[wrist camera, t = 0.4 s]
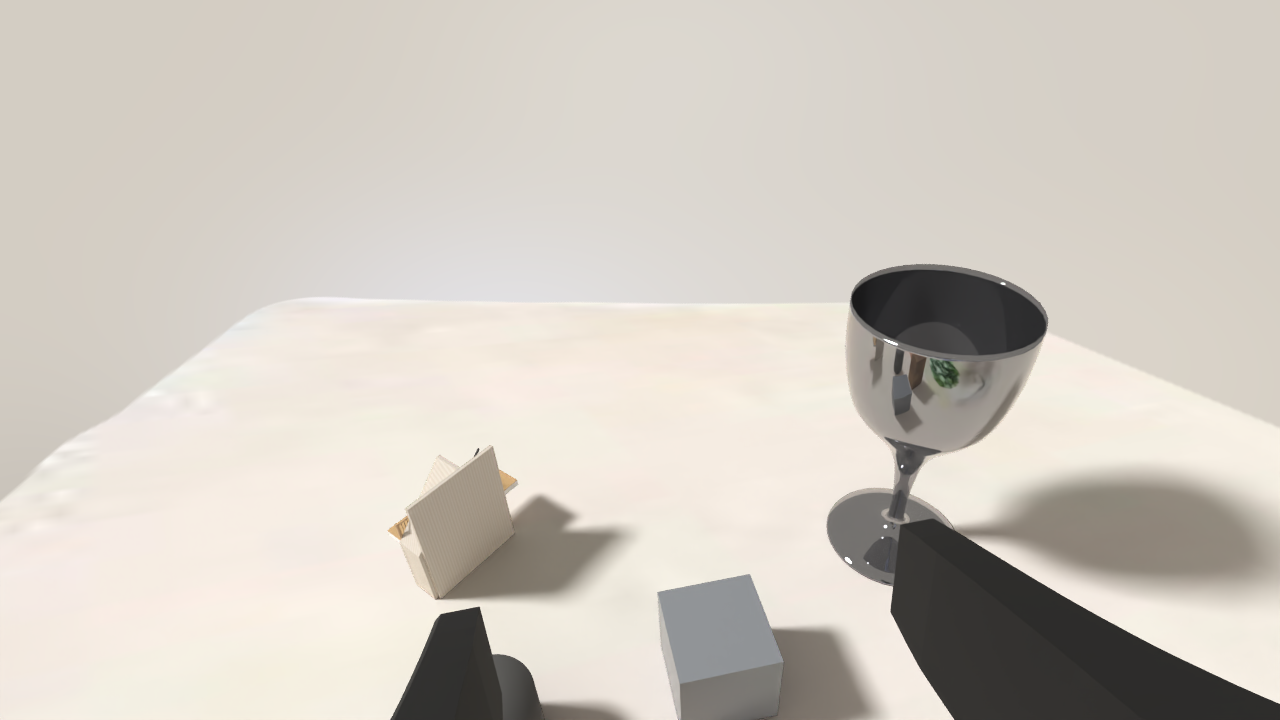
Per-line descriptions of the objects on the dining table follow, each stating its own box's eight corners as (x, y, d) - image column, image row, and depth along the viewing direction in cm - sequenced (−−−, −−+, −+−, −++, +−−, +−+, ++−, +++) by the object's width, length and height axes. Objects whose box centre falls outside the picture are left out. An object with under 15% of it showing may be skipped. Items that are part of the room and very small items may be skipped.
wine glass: (941, 483, 40) (1004, 261, 31) (990, 596, 33) (1086, 354, 25) (809, 483, 41) (835, 266, 32) (832, 593, 34) (872, 357, 26)
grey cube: (777, 716, 29) (783, 661, 27) (681, 737, 29) (679, 683, 26) (746, 629, 33) (749, 574, 30) (661, 647, 32) (657, 592, 30)
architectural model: (402, 576, 37) (363, 483, 33) (493, 502, 42) (469, 411, 37) (439, 607, 35) (403, 513, 31) (530, 525, 40) (509, 433, 36)
